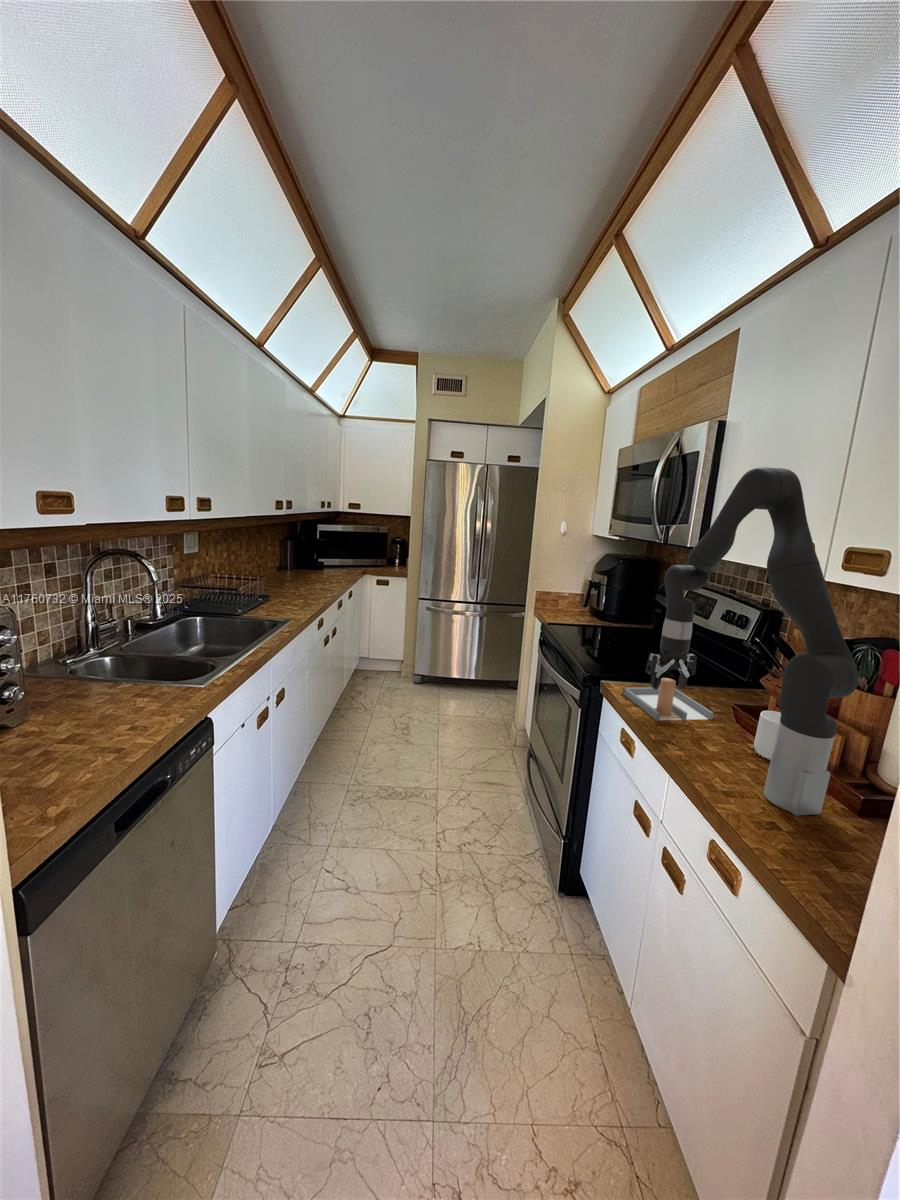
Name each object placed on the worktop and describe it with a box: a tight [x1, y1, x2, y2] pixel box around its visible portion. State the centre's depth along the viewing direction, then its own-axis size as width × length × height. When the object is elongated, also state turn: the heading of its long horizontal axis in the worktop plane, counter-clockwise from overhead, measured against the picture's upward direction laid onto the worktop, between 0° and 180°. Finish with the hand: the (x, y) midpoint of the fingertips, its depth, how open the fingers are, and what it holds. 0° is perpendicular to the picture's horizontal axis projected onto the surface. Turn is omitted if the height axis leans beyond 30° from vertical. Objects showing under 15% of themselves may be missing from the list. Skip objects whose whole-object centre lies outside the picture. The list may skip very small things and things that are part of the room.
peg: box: [656, 677, 677, 715], centre depth 137 cm, size 4×4×10 cm
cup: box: [753, 710, 781, 761], centre depth 121 cm, size 8×12×10 cm
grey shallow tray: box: [621, 686, 714, 721], centre depth 144 cm, size 19×18×3 cm
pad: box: [654, 708, 679, 718], centre depth 138 cm, size 6×6×1 cm
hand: (667, 688), depth 136 cm, fingers open, 8 cm apart
